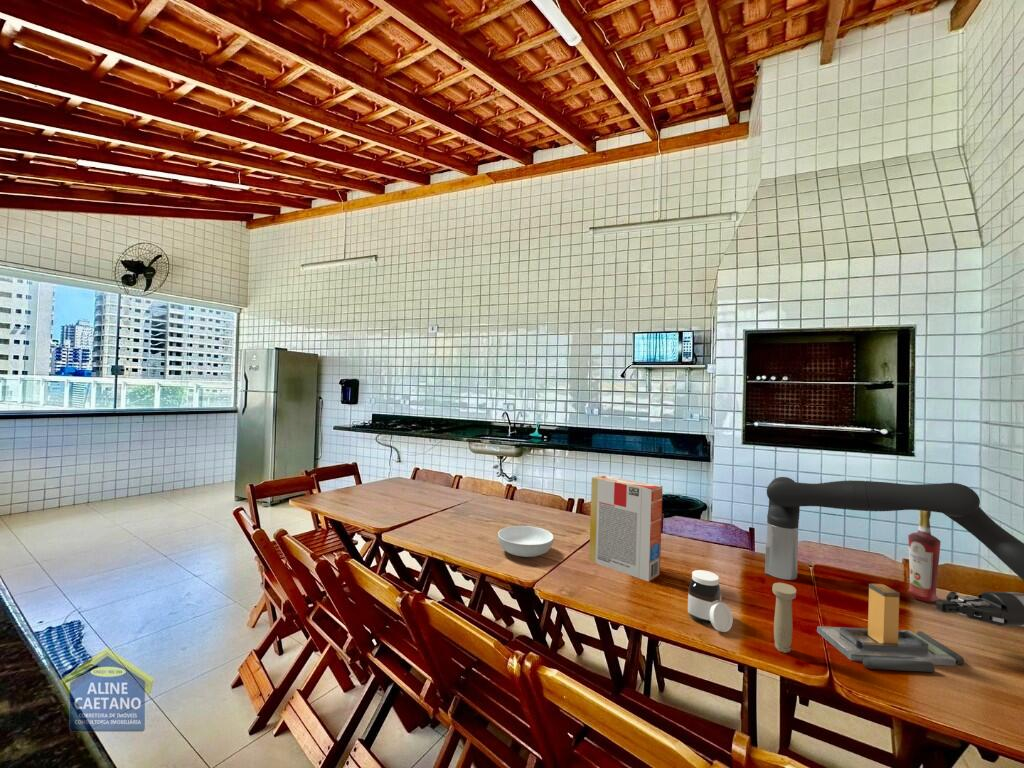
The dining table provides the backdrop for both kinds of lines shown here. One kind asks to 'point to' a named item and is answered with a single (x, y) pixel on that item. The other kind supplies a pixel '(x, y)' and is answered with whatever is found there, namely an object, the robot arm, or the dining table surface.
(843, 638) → the panel
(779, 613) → the handle
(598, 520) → the cereal box
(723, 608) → the spread jar
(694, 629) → the dining table surface
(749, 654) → the dining table surface
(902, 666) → the grey rounded rod
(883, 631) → the tan wooden block
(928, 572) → the liquor
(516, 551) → the serving bowl
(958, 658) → the dark grey rounded bar
